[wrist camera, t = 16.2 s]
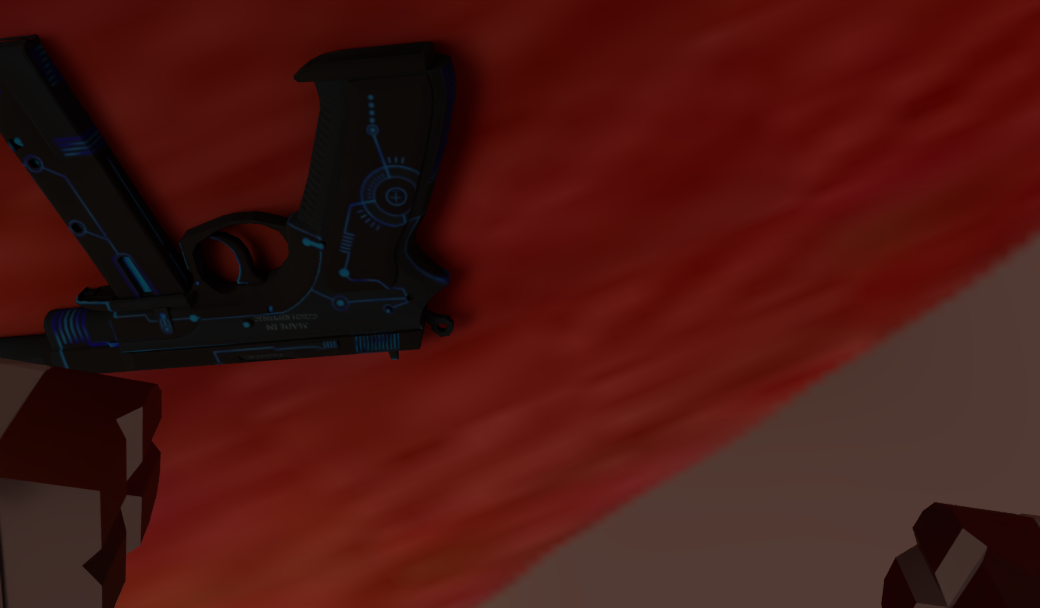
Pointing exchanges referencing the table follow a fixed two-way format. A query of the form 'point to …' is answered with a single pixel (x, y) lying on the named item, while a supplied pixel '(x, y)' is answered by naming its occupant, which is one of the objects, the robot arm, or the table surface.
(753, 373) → the table surface
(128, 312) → the gun
